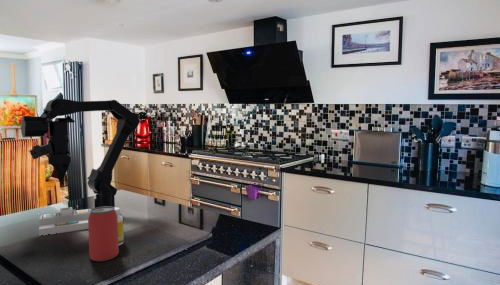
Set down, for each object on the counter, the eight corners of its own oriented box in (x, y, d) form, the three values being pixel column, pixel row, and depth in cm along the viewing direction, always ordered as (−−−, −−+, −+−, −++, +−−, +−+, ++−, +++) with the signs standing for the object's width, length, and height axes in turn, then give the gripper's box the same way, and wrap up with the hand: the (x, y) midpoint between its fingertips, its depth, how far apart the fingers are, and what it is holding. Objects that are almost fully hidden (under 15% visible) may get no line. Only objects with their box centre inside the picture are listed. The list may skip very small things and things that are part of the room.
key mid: (72, 212, 109) (72, 206, 109) (72, 215, 106) (72, 209, 106) (60, 214, 107) (60, 208, 107) (60, 217, 104) (60, 210, 104)
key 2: (88, 215, 111) (87, 209, 111) (88, 217, 108) (88, 211, 108) (76, 216, 109) (76, 210, 109) (77, 219, 106) (76, 213, 106)
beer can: (95, 252, 85) (93, 206, 84) (122, 251, 85) (120, 205, 85) (85, 263, 78) (83, 213, 77) (113, 261, 79) (112, 212, 78)
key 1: (56, 219, 106) (56, 213, 106) (56, 222, 104) (55, 215, 103) (43, 220, 105) (43, 214, 105) (43, 223, 102) (43, 217, 102)
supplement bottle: (128, 241, 92) (126, 207, 91) (114, 249, 87) (112, 212, 86) (112, 239, 94) (111, 205, 93) (97, 246, 88) (96, 210, 88)
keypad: (90, 216, 116) (89, 206, 116) (93, 228, 104) (92, 215, 104) (41, 223, 109) (41, 211, 109) (39, 236, 97) (38, 223, 97)
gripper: (32, 135, 116) (34, 179, 117) (27, 138, 100) (30, 189, 101) (68, 135, 122) (70, 177, 123) (69, 137, 105) (71, 185, 106)
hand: (61, 181), depth 113 cm, fingers closed
